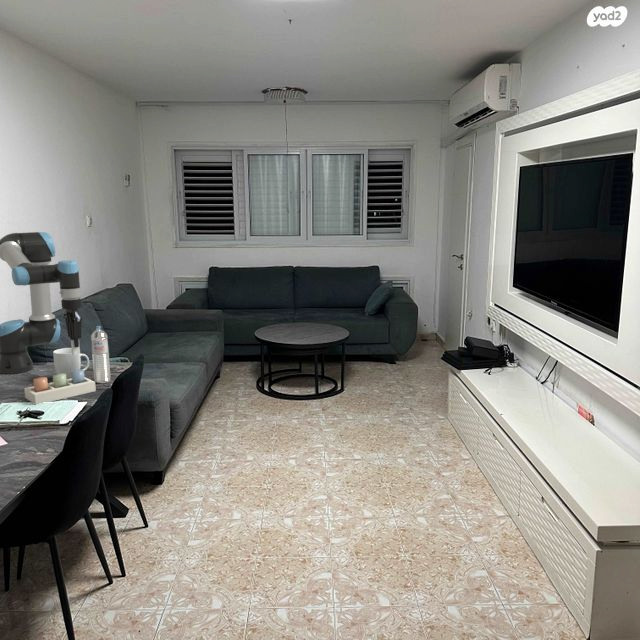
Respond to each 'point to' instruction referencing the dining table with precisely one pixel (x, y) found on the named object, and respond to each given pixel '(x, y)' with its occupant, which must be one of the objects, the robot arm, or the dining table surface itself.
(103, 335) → the water bottle
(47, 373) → the dining table surface
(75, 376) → the button blue
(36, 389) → the button terracotta
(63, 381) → the button sage
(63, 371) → the mug
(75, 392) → the cream button tray
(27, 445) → the dining table surface
